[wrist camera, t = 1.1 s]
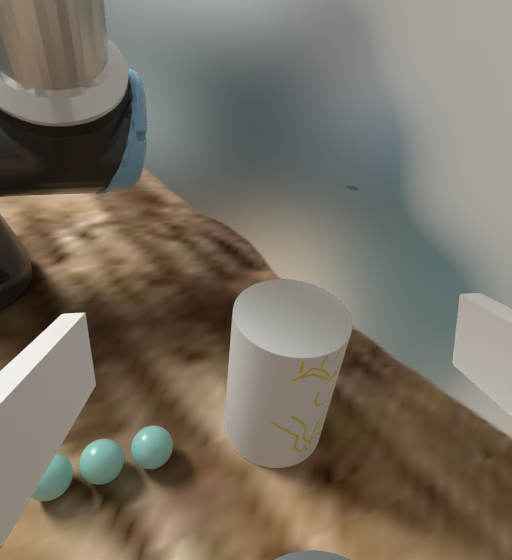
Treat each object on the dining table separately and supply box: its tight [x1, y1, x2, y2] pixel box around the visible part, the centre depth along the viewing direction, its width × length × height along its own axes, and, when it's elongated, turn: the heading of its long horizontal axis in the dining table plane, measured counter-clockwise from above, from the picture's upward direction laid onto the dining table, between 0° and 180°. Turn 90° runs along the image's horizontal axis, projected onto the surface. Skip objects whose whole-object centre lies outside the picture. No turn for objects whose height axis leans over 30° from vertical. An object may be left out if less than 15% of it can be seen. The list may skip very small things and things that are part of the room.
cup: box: [224, 279, 352, 468], centre depth 32 cm, size 8×8×12 cm
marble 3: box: [31, 453, 73, 501], centre depth 29 cm, size 3×3×3 cm
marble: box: [131, 426, 173, 469], centre depth 31 cm, size 3×3×3 cm
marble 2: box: [79, 439, 124, 485], centre depth 30 cm, size 3×3×3 cm
